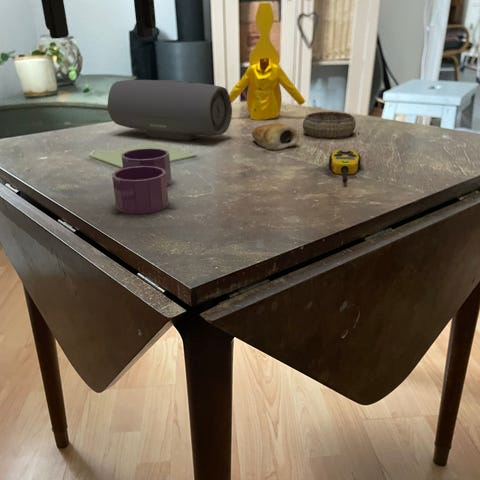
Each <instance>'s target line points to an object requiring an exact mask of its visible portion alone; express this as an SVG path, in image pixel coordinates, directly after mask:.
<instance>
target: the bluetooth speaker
mask: <svg viewBox="0 0 480 480" xmlns="http://www.w3.org/2000/svg"><path fill="white" fill-rule="evenodd" d="M229 94H230V93H229V91H228V89H227V88H226V87H224V86H220V85H215V84H209V83H199V82H194V81H180V80H171V79H164V80H163V79H162V80H161V79H125V80H117V81H115V82H113V83H112V85H111V86H110V88H109V92H108V97H107V111H108V115H109V117H110V119H111V121H113V122H114V124H116V125H118V126H121V127H124V128H129V129H134V130H135V129H136V130H139V131H144V132H145V133H146V136H147V137H153V138H160V139H161V138H162V139H171V140H178V141H179V140H180V141H181V140H182V141H192V140H195V139H196V138H197V136H199V137H200V136H202V137H203V136H205V137H214V136H222V135H224V134H225V133H226V132H227V131H228V129H229V127H230V126H231V122H232V116H233V106H232V103H231V100H230V96H229Z"/></svg>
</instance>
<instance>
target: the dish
mask: <svg viewBox="0 0 480 480" xmlns="http://www.w3.org/2000/svg"><path fill="white" fill-rule="evenodd" d="M111 177H112V184H113V185H112V187H113V193H114V199H115V206H116V209H117V210H118V211H119V212H121V213H123V214H129V215H147V214H153V213H157V212H160V211H163V210H165V209H166V208H167V207H168V206H169V191H168V186H167V178H166V172H165V170H164V169H162V168H159V167H152V166H136V167H128V168H124V169H122V168H119V169H118V170H116V171H114V172H112V174H111Z"/></svg>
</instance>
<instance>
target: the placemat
mask: <svg viewBox="0 0 480 480" xmlns="http://www.w3.org/2000/svg"><path fill="white" fill-rule="evenodd" d="M145 148H155V149H163V150H166V151H168V152H169V157H170V163H173V162H178V161H182V160H187V159H190V158H196V157H197V154H195V153H192V152H188V151H184V150H181V149H177V148H174V147H170V146H167V145H164V144H159V143H156V142H153V141H152V142H147V143H142V144H137V145H132V146H127V147H122V148H116V149H111V150H107V151H106V150H105V151H101V152H97V153H92V154H88V157H89V158H92V159H94V160H98V161H100V162H103V163H105V164H109V165H111V166H114V167H116V168H119V169H123V164H122V156H121V154H123V153H125V152H127V151H130V150H135V149H145Z"/></svg>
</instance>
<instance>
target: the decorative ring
mask: <svg viewBox="0 0 480 480" xmlns="http://www.w3.org/2000/svg"><path fill="white" fill-rule="evenodd" d="M356 125H357V123H356V119H355V117H354V116H353V115H352V114H350V113H346V112H340V111H319V112H312V113H309V114H307V115H306V116H305V117H304V119H303V121H302V130H303V131H304V133H305V134H306V136H309V137H312V138H313V137H314V138H318V139H342V138H346V137H349V136H351V135H353V133H354V131H355V129H356Z"/></svg>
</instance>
